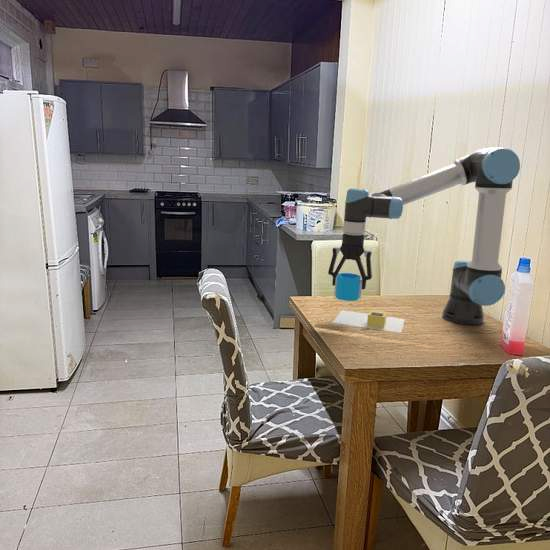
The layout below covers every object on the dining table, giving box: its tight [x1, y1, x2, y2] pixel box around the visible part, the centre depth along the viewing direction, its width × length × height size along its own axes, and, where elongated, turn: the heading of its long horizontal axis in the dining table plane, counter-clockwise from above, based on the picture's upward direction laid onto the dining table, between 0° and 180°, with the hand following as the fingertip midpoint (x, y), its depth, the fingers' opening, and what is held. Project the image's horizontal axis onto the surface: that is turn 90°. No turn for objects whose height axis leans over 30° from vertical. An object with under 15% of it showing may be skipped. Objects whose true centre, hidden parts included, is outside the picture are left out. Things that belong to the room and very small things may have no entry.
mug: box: [334, 272, 361, 302], centre depth 182 cm, size 12×8×8 cm
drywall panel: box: [332, 310, 405, 334], centre depth 186 cm, size 30×17×1 cm, turn 72°
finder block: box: [367, 310, 388, 328], centre depth 182 cm, size 6×6×4 cm
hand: (347, 295), depth 183 cm, fingers closed on mug, 8 cm apart
